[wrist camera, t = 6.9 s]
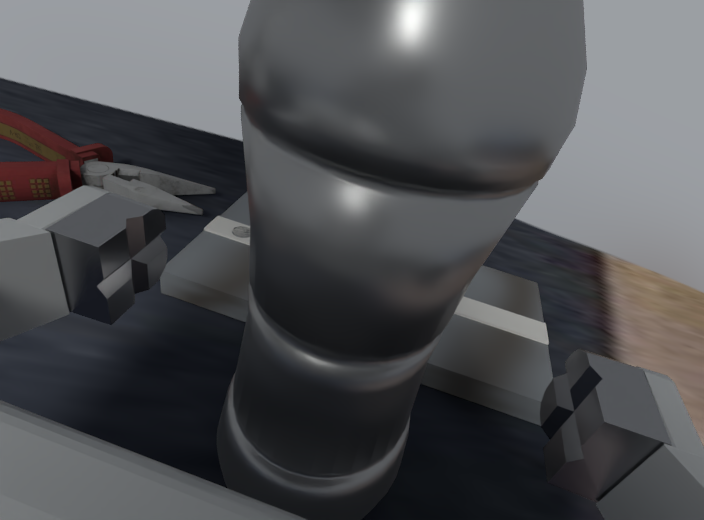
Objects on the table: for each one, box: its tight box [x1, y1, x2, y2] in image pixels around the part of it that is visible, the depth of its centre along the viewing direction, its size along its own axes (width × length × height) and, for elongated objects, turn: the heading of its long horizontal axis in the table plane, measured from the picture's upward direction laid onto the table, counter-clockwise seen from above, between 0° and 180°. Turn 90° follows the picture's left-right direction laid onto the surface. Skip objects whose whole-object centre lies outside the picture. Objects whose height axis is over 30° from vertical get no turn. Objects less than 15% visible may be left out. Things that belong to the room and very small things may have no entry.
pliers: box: [0, 109, 215, 215], centre depth 28 cm, size 12×20×3 cm, turn 88°
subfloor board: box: [160, 192, 553, 426], centre depth 25 cm, size 20×10×2 cm, turn 75°
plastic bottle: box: [216, 0, 587, 520], centre depth 11 cm, size 6×7×20 cm
